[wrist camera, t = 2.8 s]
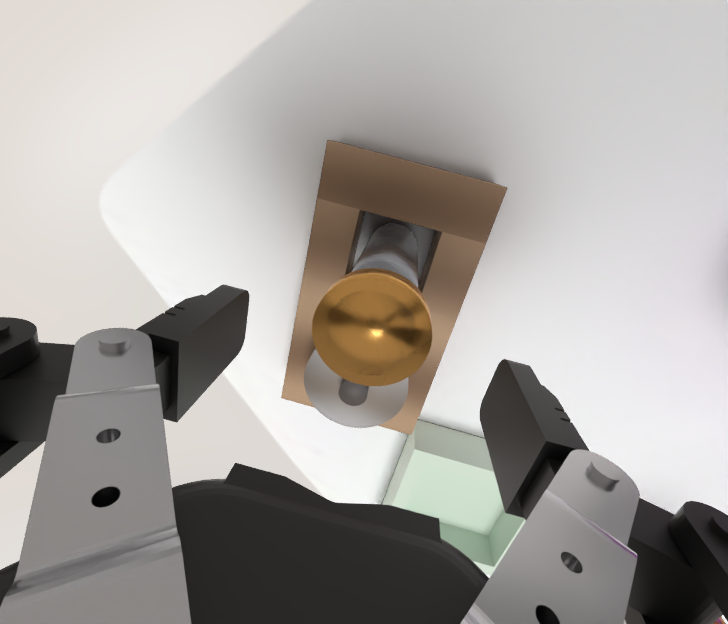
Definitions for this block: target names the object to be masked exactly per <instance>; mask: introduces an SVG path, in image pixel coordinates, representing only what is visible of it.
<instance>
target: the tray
mask: <svg viewBox="0 0 728 624" xmlns="http://www.w3.org/2000/svg"><path fill="white" fill-rule="evenodd" d="M382 505H391V506H395V507H399V508H402V509H406V510H410V511H413V512H417V513H421V514H424V515H428V516H432V517H435V518H439V523H440V536H441V539H443V540H445V541H447V542H448V543H450V544H451V545H453V546H454V547H456V548H457V549H459V550H460V551H461V552H462V553H464V554H465V555H466V556H467V557H468V558H470V559H471V560H472V561H473V562H474V563H475V564H476V565H477V566H478V567H479V568H480V569H481V570H482V571H483V572H484V573H485V574H488V575H492V574H493V572H494V571H495V569H496V567H497V566H498V564H499V563H500V561H501V560H502V558H503V556H504V555H505V553H506V552H507V550H508V549H509V547H510V545H511V544H512V542H513V541H514V539H515V538H516V536H517V534H518V533H519V531H520V530H521V528H522V527H523V525H524V523H525V522H526V521H525V518H522V517H518V516H514V515H511V514H507V513H505V510H504V507H503V503H502V499H501V496H500V492H499V488H498V484H497V481H496V477H495V473H494V470H493V466H492V462H491V458H490V455H489V451H488V447H487V444H486V440H485V439H484V438H481V437H477V436H474V435H470V434H467V433H463V432H460V431H456V430H452V429H449V428H445V427H442V426H438V425H435V424H431V423H428V422H424V421H421V420H417V423H416V425H415V428H414V430H413V433H412V435H410V434H409V435H408V438H407V440H406V443H405V445H404V448H403V451H402V453H401V456H400V458H399V461H398V464H397V466H396V469H395V472H394V474H393V477H392V479H391V482H390V485H389V487H388V490H387V492H386V495H385V498H384V500H383V503H382Z"/></svg>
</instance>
